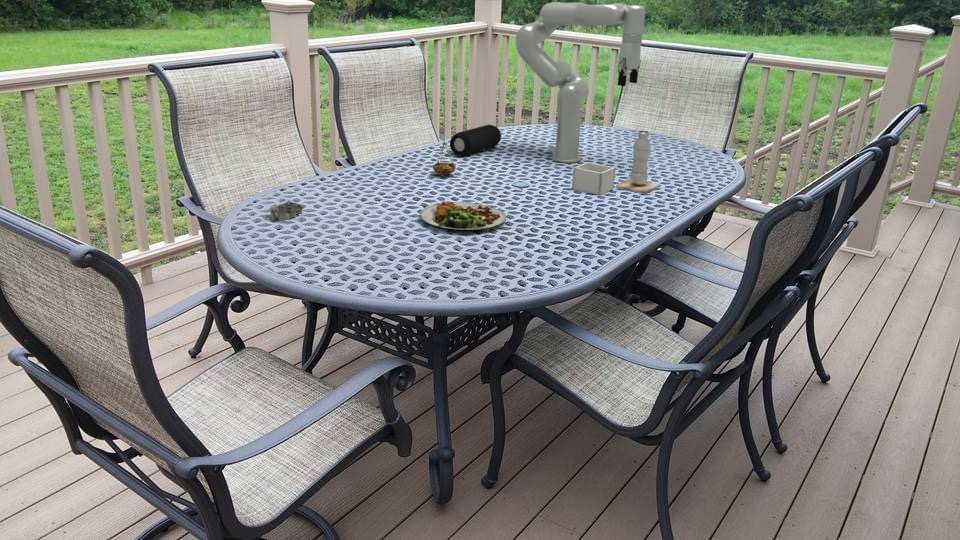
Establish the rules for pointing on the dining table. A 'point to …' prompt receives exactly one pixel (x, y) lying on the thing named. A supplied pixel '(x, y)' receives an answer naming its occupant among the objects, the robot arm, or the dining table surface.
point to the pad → (637, 187)
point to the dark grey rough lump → (285, 210)
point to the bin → (593, 178)
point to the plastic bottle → (640, 159)
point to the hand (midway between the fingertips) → (627, 84)
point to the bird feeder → (441, 167)
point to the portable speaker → (475, 140)
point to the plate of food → (462, 215)
